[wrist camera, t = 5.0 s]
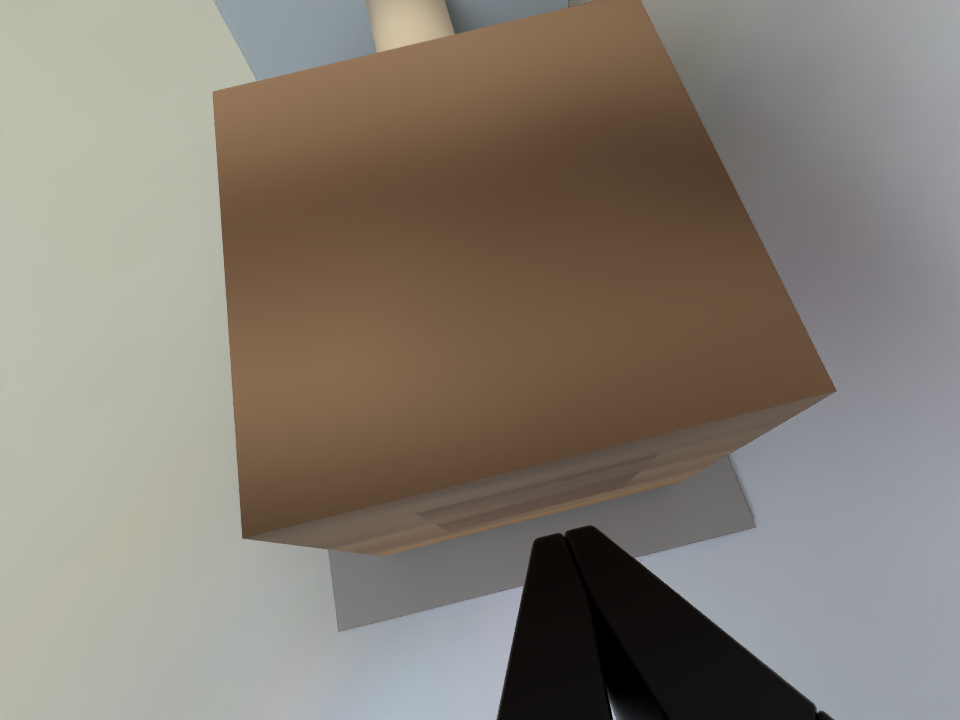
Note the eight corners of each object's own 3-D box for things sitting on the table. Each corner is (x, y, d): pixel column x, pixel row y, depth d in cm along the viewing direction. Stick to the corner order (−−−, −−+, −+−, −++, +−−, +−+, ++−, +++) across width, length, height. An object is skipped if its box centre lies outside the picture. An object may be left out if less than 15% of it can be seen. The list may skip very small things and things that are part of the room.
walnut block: (681, 481, 14) (836, 391, 7) (383, 556, 14) (242, 538, 7) (590, 231, 17) (635, -9, 10) (342, 291, 17) (212, 91, 10)
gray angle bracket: (753, 527, 14) (919, 494, 8) (340, 631, 14) (204, 673, 8) (559, 47, 21) (574, -167, 15) (277, 114, 21) (175, -74, 15)
